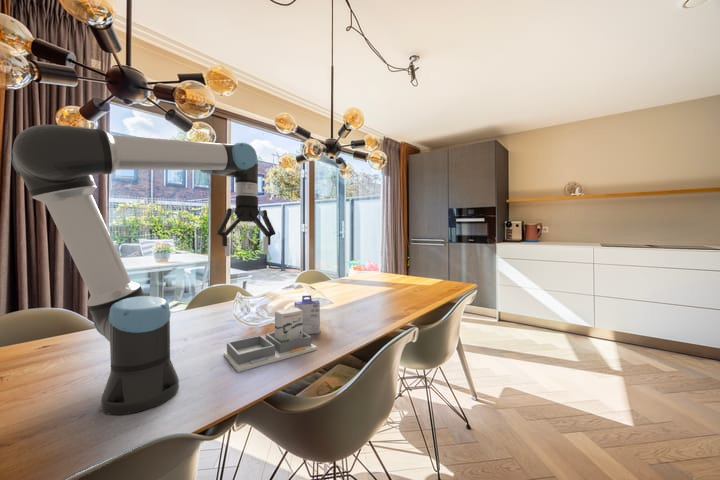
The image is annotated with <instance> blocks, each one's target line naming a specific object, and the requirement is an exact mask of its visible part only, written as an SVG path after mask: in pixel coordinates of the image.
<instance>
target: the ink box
mask: <svg viewBox="0 0 720 480" xmlns="http://www.w3.org/2000/svg"><path fill="white" fill-rule="evenodd" d="M274 332H275V339H276V340H277V341H279V342H280V343H285V342H289V341H293V340H297V339H301V338H303V310H300V309H298V308H295V307H290V308H284V309H278V310H275V311H274Z"/></svg>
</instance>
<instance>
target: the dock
mask: <svg viewBox="0 0 720 480" xmlns="http://www.w3.org/2000/svg"><path fill="white" fill-rule="evenodd" d="M317 350H318V346H317V345H315V344H313V343H312V336H311V335H310V334H305V333H304V332H303V338H301V339H297V340H293V341H289V342H285V343H280V342H279V341H277V340H276V339H275V331H274V332H269V333H265V337H264V336H263V335H256V336H250V337H247V338H242V339H238V340H232V341H228V342H226V351H223V356H224V357H225V358H226V359H227V361H228V362H229V363H230V364H231V366H232V367H233V368H234V369H235V371H236V372H237V373H240V372H243V371H247V370H249V369H253V368H257V367H261V366H264V365H267V364H271V363H275V362H278V361H282V360H285V359H289V358H292V357H296V356H298V355H303V354H307V353H309V352H313V351H317Z"/></svg>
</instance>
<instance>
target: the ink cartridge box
mask: <svg viewBox="0 0 720 480" xmlns="http://www.w3.org/2000/svg"><path fill="white" fill-rule="evenodd" d="M301 298H302V299H301V301H294V308H298V309H300V310H303V332H304V333H305V334H307V335H313V334H314V335H315V334H321V333H320V331H321V321H320V320H321V319H320V318H321V316H320V315H321V313H320V311H321V310H320V309H321V303H320V300H317V299H316V300H312V295H302V296H301ZM306 298H307V299H306Z"/></svg>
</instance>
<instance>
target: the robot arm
mask: <svg viewBox="0 0 720 480" xmlns="http://www.w3.org/2000/svg"><path fill="white" fill-rule="evenodd" d="M10 158H11V160H10V161H11V164H12V166H13V168H14V170H15V172H16V173H17V174H18V175H19V177H21V178H22V181H23V183H24V184H25V186H26V188H27V190H28V192H29V194H30V196H31V198H32V199H34V200H36V201H39V202H41V203H43V204H44V205H45V206H46V208H47V210H48V212H49V214H50V216H51V218H52V220H53V222H54V224H55V225H56V226H55V227H56V228H57V230H58V232H59V235H60V236H61V238H62V240H63V242H64V244H65V246H66V248H67V250H68V252H69V255H70V256H71V258H72V260H73V262H74V264H75V267H76V268H77V271H78V272H79V274H80V277H81V278H82V281H83V283H84V284H85V286H86V288H87V290H88V293H89V294H90V296H89V298H88V300H87V302H86V303H85V305H86V307H87V308H88V310H89V312H90V314H91V316H92V318H93V325H94V327H95V329H96V331H97V332H98V333H99V334H100V335H101V336H103V337H104V338H105V339H106V340H107V341H108V342H109V345H110V347H109V348H110V349H109V350H110V351H109V352H110V355H109V357H110V373H109V375H108V378H107V382H106V384H105V386H104V389H103V393H102V395H101V397H100V399H101V400H100V403H101V411H102V410H103V411H104V412H103V411H102V412H103V413H105V412H106V413H105V414H108V413H109V415H113V414H114V415H117V416H120V415H129V414H135V412H136V413H139V411H140V412H143V411H146V409H147V410H149V408H150V409H152V408H154V407H157V406H160V405H161V404H163V403H165V402H167V401H168V400H170V399H171V398H173V397H174V396H175V395H176V394H177V393H176V392H178V391H179V389H180V385H179V383H180V381H179V376H178V374H177V372H176V368H175V367H174V365H173V362H172V360H171V359H172V358H171V323H170V322H171V310H170V304H169V302H168V301H167V300H166V299H165V298H162V297H159V296H152V295H145V293H144V290H143V289H142V286H141V284H139V283H138V282H134V281H132V280H131V279H130V277H129V273H128V272H127V269H126V267H125V266H124V265H125V264H124V263H123V261H122V258H121V256H120V254H119V252H118V250H117V247H116V245H115V243H114V240H113V238H112V236H111V234H110V232H109V230H108V227H107V225H106V223H105V221H104V218H103V216H102V213H101V212H100V210H99V208H98V205H97V203H96V200H95V199H94V196H93V194H94V192H95V191H96V189H97V185H96V182H95V180H94V178H93V175H112V174H113V173H114V172H116V171H117V170H123V171H124V170H131V171H132V170H133V171H134V170H138V171H139V170H141V171H142V170H146V171H147V170H148V171H151V170H154V171H158V170H159V171H160V170H161V171H163V170H165V171H169V170H170V171H171V170H172V171H177V170H179V171H183V170H184V171H191V170H192V171H193V170H194V171H195V170H196V171H197V170H198V171H199V172H201V173H204V174H208V175H211V176H212V175H214V176H215V175H216V176H221V177H222V176H223V177H229V178H230V177H231V178H235V194H236V196H235V208H234V209H233V208H231V207H229V208H226V209H225V215H224V217H223V218H222V221H221V222H220V224H219V226H218V228H217V230H216V232H215V234H216V236H220V237H221V245H222V247H224V253H225V255H224V256H226V257H230V256H231V255H230V253H231V246H230V245H231V244H230V242H231V241H230V240H231V239H230V237H229V236H228V235H230V233H231V232H232V231H233V230H234V229H235V228H236V226H237V225H238V224H239V223H240V222H242V223H252V222H253V223H254V224H255V225H256V226H257V227H258V228H259V230H260V231H261V232H262V233H263V235H264V236H263V237H262V238H263V242H262V243H263V249H262V250H263V251H262V252H263V255H269V246H271V237H272V236H275V235H276V231H275V229H274V226H273V225H272V223H271V220H270V218H269V216H268V211H267V210H266V209H262V210H259V198H258V195H259V162H258V161H259V160H258V155H257V151H256V149H255V148H254V147H253V146H252V145H251V144H249V143H248V142H246V141H245V142H244V141H243V142H236V143H234V144H233V143H232V144H231V143H220V142H219V143H218V142H217V143H216V142H206V141H193V140H192V141H191V140H179V139H168V138H151V137H143V136H142V137H141V136H129V135H128V136H127V135H116V134H110V133H109V132H108V131H106V130H105V129H99V128H91V127H90V128H88V127H80V126H72V125H60V124H39V125H33V126H30V127H27V128H25V129H24V130H23V131H20V133H19V134H18V135H17V136H16V137H15V139H14V142H13V147H12V150H11V155H10ZM233 215H235V216H236V217H235V218H234V219H233V221H232V222H231V223H230V225H228V227H227V228H226V226H227V224H228V222H229V220H230V219H231V217H232V216H233ZM259 215H260V216H261V219H262V221H263V222H264V224H265V226H264V224H263V222H261V220H260V218H259V217H258V216H259ZM178 388H179V389H178ZM177 390H178V391H177ZM175 393H176V394H175ZM174 394H175V395H174ZM173 395H174V396H173ZM172 396H173V397H172Z"/></svg>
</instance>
